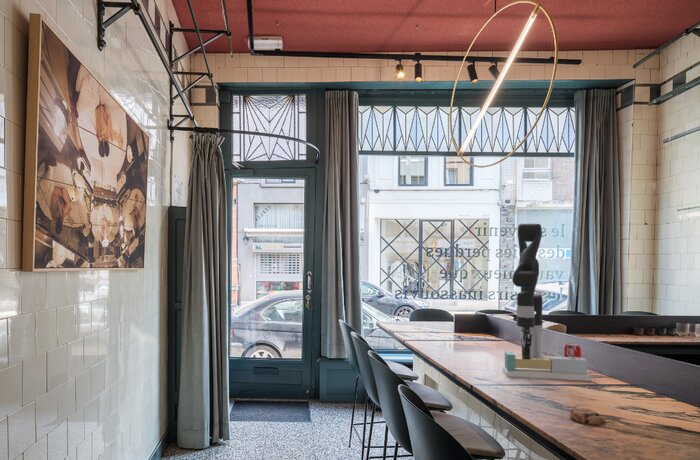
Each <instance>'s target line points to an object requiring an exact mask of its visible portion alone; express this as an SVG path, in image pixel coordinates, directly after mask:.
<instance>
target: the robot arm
mask: <svg viewBox="0 0 700 460" xmlns="http://www.w3.org/2000/svg"><path fill="white" fill-rule="evenodd" d="M517 226H518V227H517V240H518V250H519V261H518V265H517V268H516V269H515V271H514V273H513V275H512V278H511V279H512V283H513V285H514V286H516V287H518V288H520V292H517V296H516V326H517V327H519V328H521V329H520V330H519V332H520V333H519V334H520V343H521V345H522V344H524V355H525V356H530V358H544V351H543V350H544V345H543V344H544V343H543V342H544V341H543V340H544V339H543V334H544V333H543V305H544V303H543V296H542V295H541V294H538V293H537V294H536V293H535V291H536V287H537V283H538V280H539V279H538V278H539V275H540V265H539V264H540V263H539V261H538V259H537V255H538V252H539V247H540V245H541V242H542V234H543V229H542V228H543V227H542V226H541V224H540V223H534V222H531V223H530V222H529V223H525V222H523V223H519V224H518V225H517ZM527 242H528V243H529V242H530V244H529V245H528V244H527Z"/></svg>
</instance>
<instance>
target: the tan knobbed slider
mask: <svg viewBox="0 0 700 460" xmlns="http://www.w3.org/2000/svg"><path fill="white" fill-rule="evenodd" d="M515 368H526V369H546V370H552V360H551V359H549V358H544V357H543V358H530V356H525V355H524V344H522V343H521V357H520V356H515Z"/></svg>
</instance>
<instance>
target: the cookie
mask: <svg viewBox="0 0 700 460" xmlns="http://www.w3.org/2000/svg"><path fill="white" fill-rule="evenodd" d="M569 418H570V419H571V420H574V421H576V422H579V423H582V424H584V425H586V424H587V425H593V426H594V425H595V426H597V425H601V424H603V423H605V421H606V419H605V417H604V416H602V415H600V414H599V413H598V412H597V411H596V410H593V409H590V408H583V407H582V408H580V407H579V408H573V409H571V410H570V417H569Z"/></svg>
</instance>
